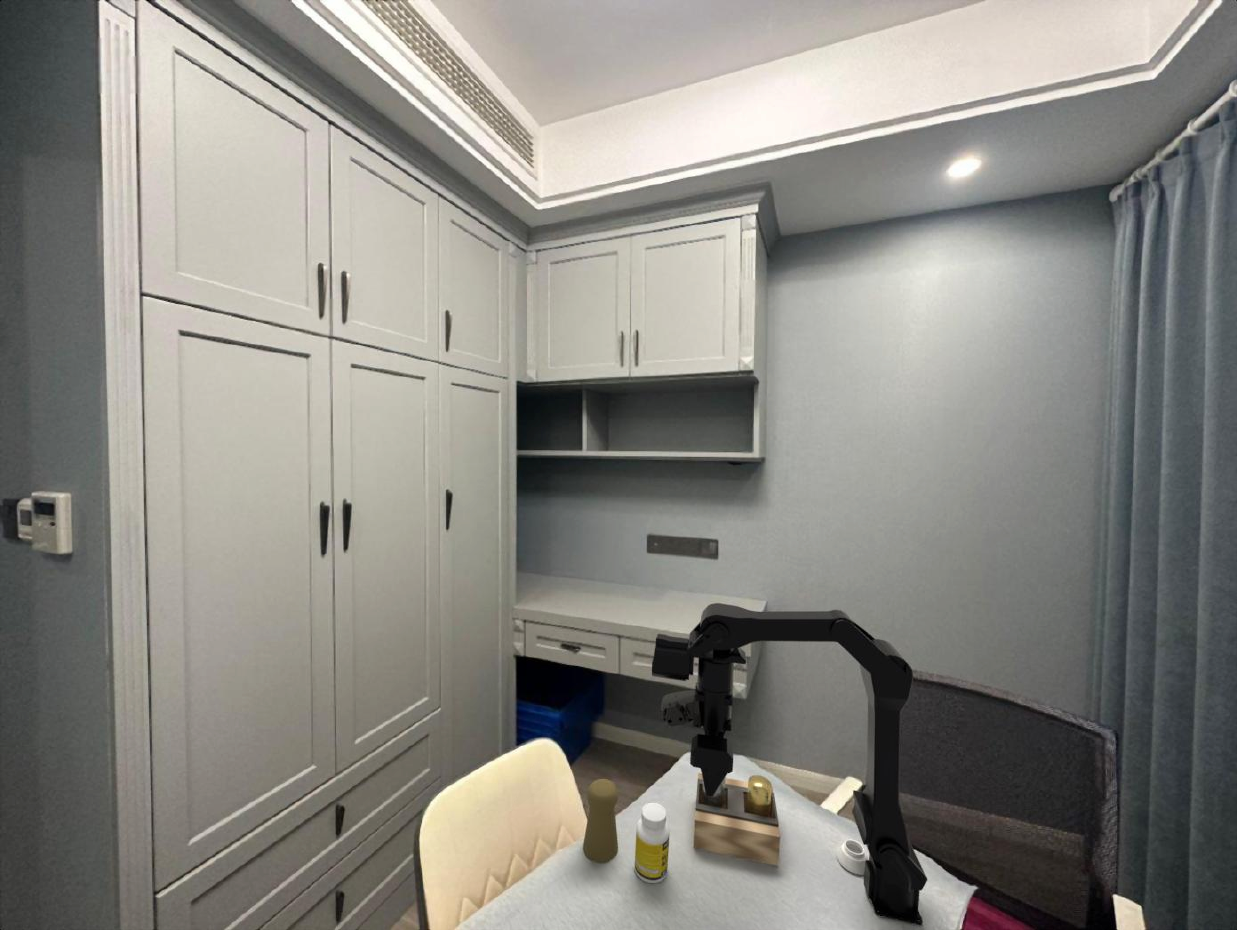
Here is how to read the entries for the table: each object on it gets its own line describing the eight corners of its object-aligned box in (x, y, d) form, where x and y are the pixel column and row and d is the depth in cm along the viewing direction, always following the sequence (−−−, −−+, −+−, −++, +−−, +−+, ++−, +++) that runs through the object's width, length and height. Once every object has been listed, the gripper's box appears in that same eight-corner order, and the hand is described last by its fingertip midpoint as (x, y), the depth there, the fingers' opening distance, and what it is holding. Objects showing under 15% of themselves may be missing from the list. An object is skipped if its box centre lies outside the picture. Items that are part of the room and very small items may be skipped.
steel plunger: (724, 794, 88) (725, 769, 88) (724, 810, 85) (725, 784, 84) (702, 790, 89) (703, 765, 89) (701, 806, 85) (702, 780, 85)
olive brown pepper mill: (586, 830, 85) (589, 770, 84) (620, 835, 84) (622, 775, 83) (579, 860, 79) (581, 795, 78) (615, 865, 78) (618, 801, 77)
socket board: (771, 811, 91) (772, 784, 90) (778, 866, 79) (780, 834, 79) (696, 797, 94) (698, 771, 93) (693, 847, 82) (694, 817, 82)
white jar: (876, 873, 79) (853, 848, 83) (878, 855, 79) (854, 832, 83) (852, 880, 77) (830, 854, 82) (854, 863, 77) (831, 838, 82)
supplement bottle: (665, 888, 74) (668, 828, 74) (631, 881, 75) (634, 821, 75) (669, 859, 80) (672, 802, 79) (637, 852, 81) (639, 796, 80)
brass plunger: (769, 803, 87) (770, 777, 87) (771, 819, 83) (772, 793, 83) (746, 798, 88) (747, 773, 87) (747, 815, 84) (749, 788, 84)
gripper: (671, 653, 89) (667, 734, 90) (658, 706, 71) (654, 807, 71) (732, 661, 87) (728, 744, 87) (735, 718, 68) (730, 823, 69)
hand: (710, 775), depth 79 cm, fingers open, 9 cm apart
